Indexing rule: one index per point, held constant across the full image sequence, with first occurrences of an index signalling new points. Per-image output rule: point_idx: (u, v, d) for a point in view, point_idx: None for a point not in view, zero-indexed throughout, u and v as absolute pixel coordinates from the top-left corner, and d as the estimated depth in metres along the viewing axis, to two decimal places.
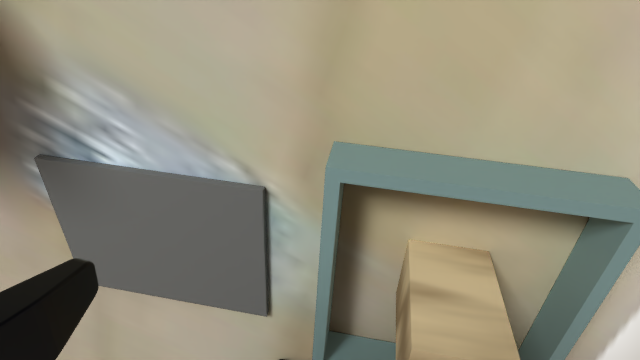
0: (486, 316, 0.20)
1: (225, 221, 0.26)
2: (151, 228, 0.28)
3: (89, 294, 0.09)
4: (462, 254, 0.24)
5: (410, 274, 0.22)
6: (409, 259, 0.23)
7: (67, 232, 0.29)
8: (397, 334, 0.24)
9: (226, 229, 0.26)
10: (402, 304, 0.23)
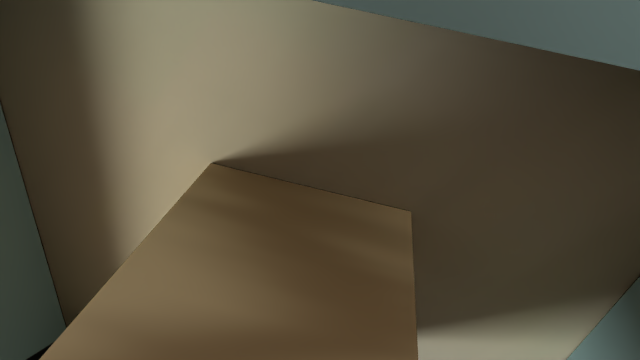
0: None
1: None
2: None
3: None
4: None
5: None
6: None
7: None
8: None
9: None
10: None
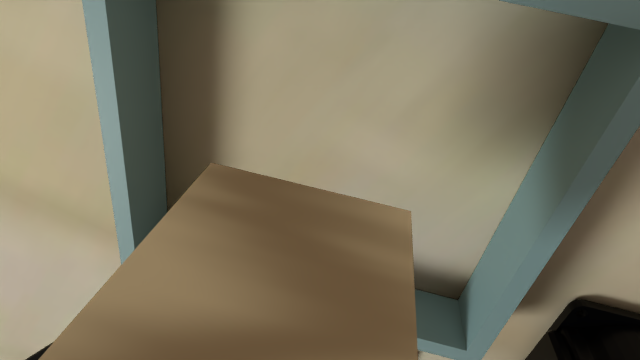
0: None
1: None
2: None
3: None
4: None
5: None
6: None
7: None
8: None
9: None
10: None
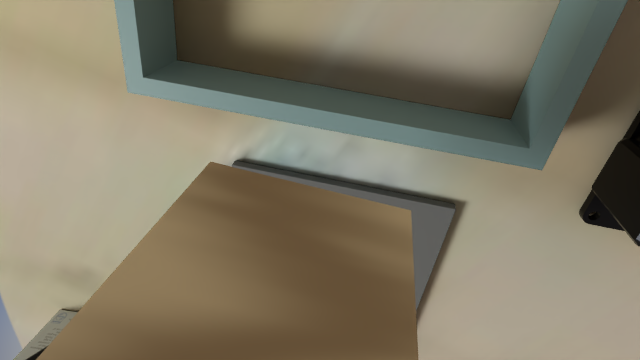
0: None
1: None
2: None
3: None
4: None
5: None
6: None
7: None
8: None
9: None
10: None
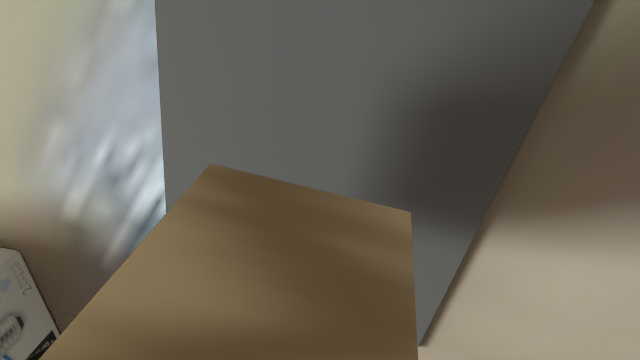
0: None
1: (247, 15, 0.11)
2: None
3: None
4: None
5: None
6: None
7: None
8: None
9: (270, 20, 0.11)
10: None
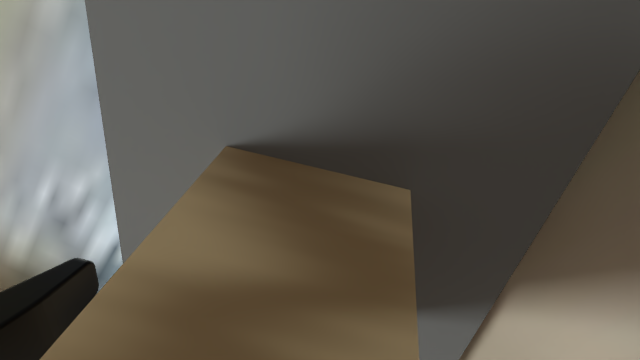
0: None
1: (205, 33, 0.09)
2: None
3: (89, 294, 0.09)
4: None
5: None
6: None
7: None
8: None
9: (235, 39, 0.09)
10: None
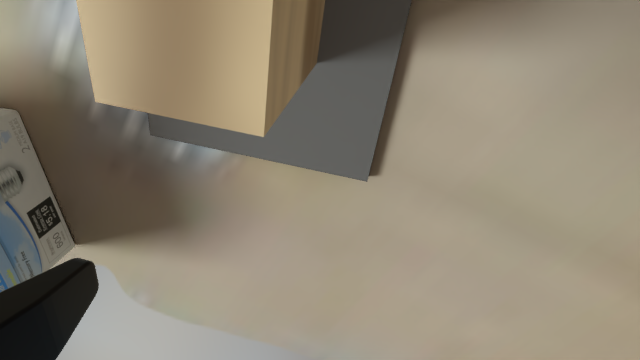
0: None
1: None
2: None
3: (89, 294, 0.09)
4: None
5: None
6: None
7: (264, 152, 0.20)
8: None
9: None
10: None
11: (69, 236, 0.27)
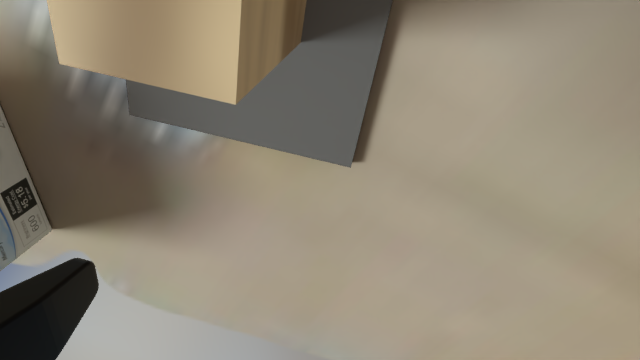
0: None
1: None
2: None
3: (89, 294, 0.09)
4: None
5: None
6: None
7: (246, 135, 0.20)
8: None
9: None
10: None
11: (46, 220, 0.26)
